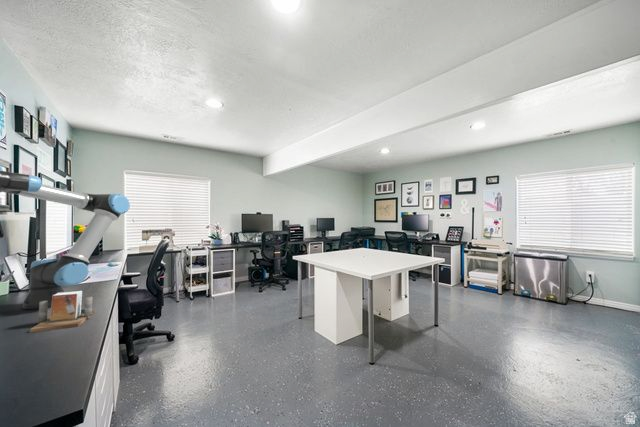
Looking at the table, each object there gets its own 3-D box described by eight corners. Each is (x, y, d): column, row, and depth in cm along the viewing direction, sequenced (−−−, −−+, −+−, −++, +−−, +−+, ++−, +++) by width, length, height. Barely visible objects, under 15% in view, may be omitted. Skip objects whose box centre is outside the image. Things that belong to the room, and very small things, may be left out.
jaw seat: (50, 317, 110) (51, 296, 111) (98, 311, 118) (99, 292, 118) (24, 333, 94) (26, 308, 95) (82, 325, 101) (83, 302, 102)
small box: (49, 321, 102) (51, 295, 102) (56, 317, 107) (58, 292, 107) (75, 318, 105) (77, 293, 106) (81, 314, 110) (82, 290, 111)
